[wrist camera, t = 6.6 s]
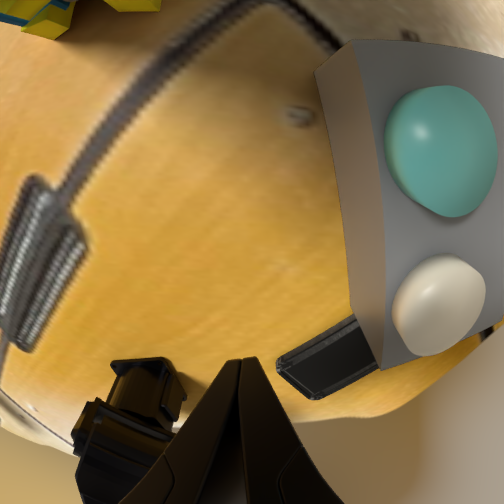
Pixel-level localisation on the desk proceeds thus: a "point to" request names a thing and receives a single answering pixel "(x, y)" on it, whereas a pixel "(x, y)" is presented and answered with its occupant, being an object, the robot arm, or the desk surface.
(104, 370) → the desk surface
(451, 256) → the cream button
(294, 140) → the desk surface
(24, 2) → the decorative book
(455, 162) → the teal button
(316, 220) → the desk surface
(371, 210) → the button box
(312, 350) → the phone
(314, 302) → the desk surface
